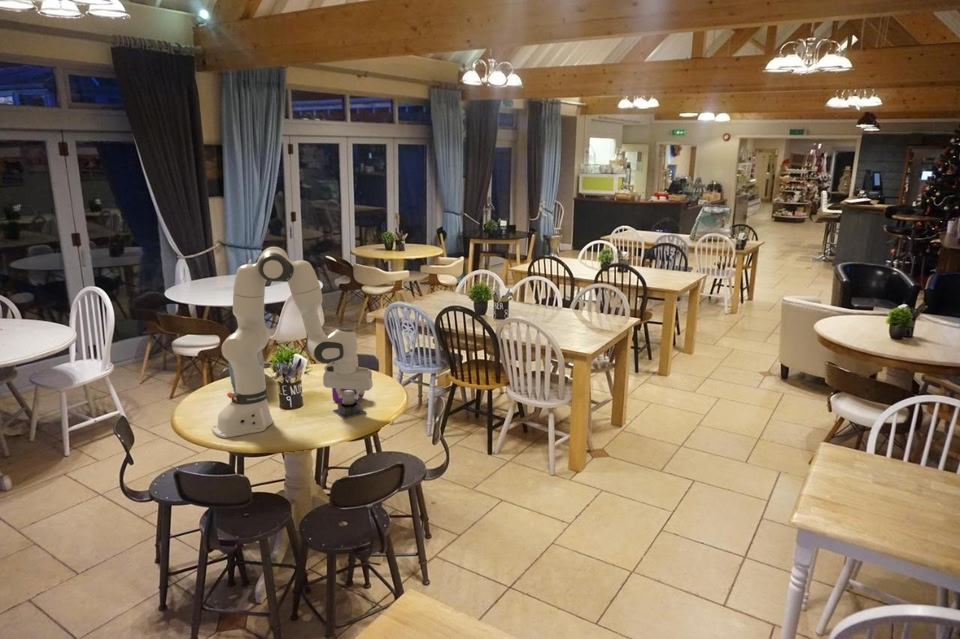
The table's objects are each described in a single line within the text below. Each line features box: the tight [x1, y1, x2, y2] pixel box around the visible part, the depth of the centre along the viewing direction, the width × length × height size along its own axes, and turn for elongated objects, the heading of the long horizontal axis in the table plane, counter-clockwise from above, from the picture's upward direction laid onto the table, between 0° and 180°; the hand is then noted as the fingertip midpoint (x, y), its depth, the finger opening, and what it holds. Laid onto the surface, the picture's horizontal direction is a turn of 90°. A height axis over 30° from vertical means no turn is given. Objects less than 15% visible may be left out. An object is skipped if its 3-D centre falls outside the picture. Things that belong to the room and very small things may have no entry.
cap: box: [342, 390, 356, 405], centre depth 268 cm, size 5×5×4 cm
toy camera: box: [331, 388, 366, 403], centre depth 283 cm, size 11×14×10 cm
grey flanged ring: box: [332, 400, 367, 420], centre depth 269 cm, size 10×10×4 cm
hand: (348, 398), depth 268 cm, fingers closed on cap, 5 cm apart
